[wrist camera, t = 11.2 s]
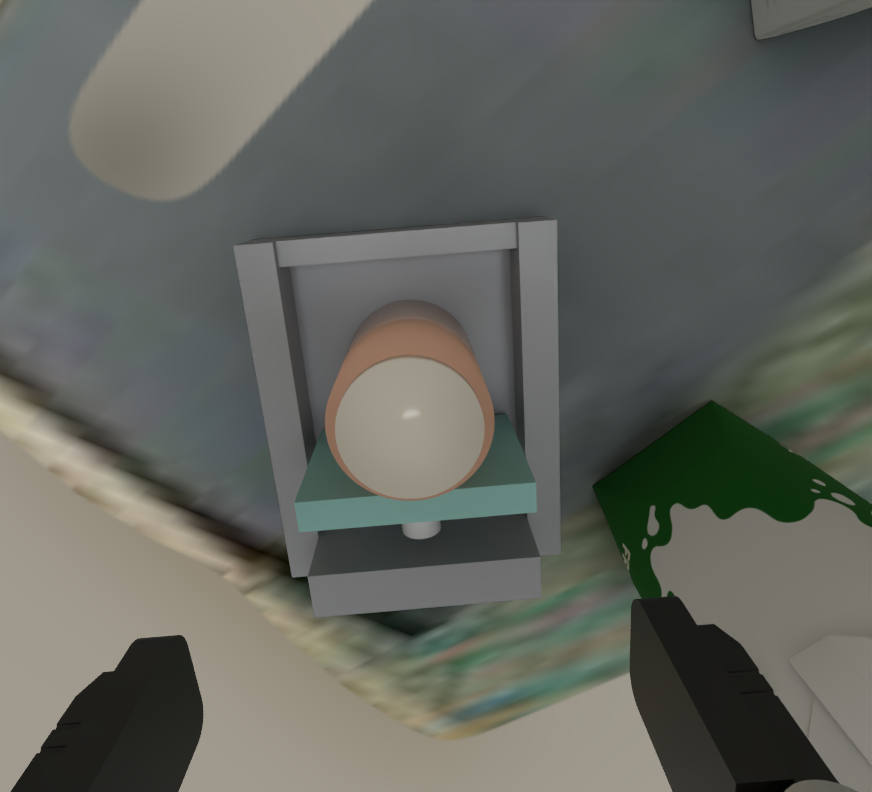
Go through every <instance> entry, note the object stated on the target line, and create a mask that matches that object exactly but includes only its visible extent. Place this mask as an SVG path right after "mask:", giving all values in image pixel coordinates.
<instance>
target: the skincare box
mask: <svg viewBox="0 0 872 792" xmlns="http://www.w3.org/2000/svg"><path fill="white" fill-rule="evenodd" d="M751 7H752V15H753V25H754V33H755V38H756V39H757V40H761V39H766V38H771V37H775V36H779V35H782V34H786V33H790V32H794V31H797V30H801V29H804V28H808V27H811V26H815V25H818V24H822V23H825V22H828V21H831V20H835V19H838V18H841V17H844V16H848V15H851V14H854V13H857V12H860V11H863V10H866V9H868V8H871V7H872V0H751Z"/></svg>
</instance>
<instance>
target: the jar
mask: <svg viewBox="0 0 872 792" xmlns="http://www.w3.org/2000/svg"><path fill="white" fill-rule="evenodd" d="M494 423H495V417H494V409H493V404H492V401H491V397H490V394H489V392H488V389H487V386H486V384H485V381H484V378H483V376H482V373H481V370H480V368H479V365H478V362H477V360H476V357H475V354H474V352H473V349H472V347H471V344H470V341H469V339H468V336H467V334H466V332H465V330H464V329H463V327H462V326H461V324H460V323H459V322H458V321H457V319H456V318H454V317H453V316H452V315H451V314H450V313H449V312H447V311H446V310H445V309H443V308H441V307H439V306H437V305H435V304H432V303H430V302H426V301H421V300H400V301H395V302H392V303H389V304H386V305H384V306H382V307H380V308H378V309H377V310H375V311H374V312H372V313H371V314H370V315H369V316H368V317H367V318H366V319H365V320H364V321H363V322H362V323H361V325H360V326H359V327H358V329H357V331H356V333H355V334H354V337H353V339H352V342H351V344H350V346H349V349H348V351H347V354H346V356H345V359H344V361H343V364H342V366H341V369H340V371H339V374H338V376H337V379H336V381H335V383H334V386H333V388H332V391H331V394H330V396H329V399H328V402H327V407H326V412H325V431H326V437H327V441H328V444H329V447H330V450H331V453H332V454H333V456H334V458H335V460H336V462H337V463H338V465H339V466H340V467H341V469H342V470H343V471H344V472H345V473H346V474H347V475H348V476H349V478H351V479H352V480H353V481H354V482H355V483H357V484H358V485H360V486H361V487H363V488H364V489H366V490H368V491H370V492H372V493H374V494H376V495H379V496H382V497H385V498H389V499H394V500H403V501H418V500H425V499H430V498H434V497H438V496H440V495H443V494H445V493H448V492H450V491H452V490H453V489H455V488H457V487H458V486H460V485H461V484H463V483H464V482H465V481H467V480H468V479H469V478H470V477H471V476H472V475H473V474H474V473H475V472H476V470H477V469H478V468H479V467H480V465H481V464H482V462H483V461H484V459H485V458H486V455H487V453H488V451H489V449H490V446H491V443H492V439H493V434H494Z"/></svg>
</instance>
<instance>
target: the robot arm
mask: <svg viewBox="0 0 872 792" xmlns="http://www.w3.org/2000/svg"><path fill="white" fill-rule="evenodd" d="M630 677H631V684H632V690H633V694H634V698H635V701H636V705H637V707H638V710H639V712H640V715H641V717H642V719H643V722H644V724H645V727H646V728H647V731H648V734H649V736H650V739H651V741H652V743H653V746H654V748H655V750H656V753H657V755H658V757H659V760H660V762H661V765H662V767H663V770H664V772H665V774H666V777H667V779H668V782H669V784H670V786H671V789H672V791H673V792H858V791H856V790H854V789H852V788H849V787H847V786H844V785H841V784H840V783H839V782H838V781H837V779H836V778H835V777H834V775H833V774H832V772H831V771H830V770H829V768H828V767H827V765H826V764H825V763H824V761H823V760H822V758H821V757H820V755H819V754H818V753H817V751H816V750H815V748H814V747H813V745H812V744H811V743H810V741H809V740H808V738H807V737H806V736H805V734H804V733H803V731H802V730H801V728H800V727H799V726H798V724H797V723H796V721H795V720H794V718H793V717H792V716H791V714H790V713H789V711H788V710H787V709H786V707H785V706H784V704H783V703H782V701H781V700H780V699H779V697H778V696H775V695H774V691H773V689H772V687H771V686H770V684H769V683H768V682H767V680H766V679H765V677H764V676H763V674H760V673H759V669H758V667H757V666H756V665H755V663H754V662H753V660H752V659H751V657H750V656H749V655H748V653H747V652H746V650H745V649H744V647H743V646H742V645H741V644H740V643H739V642H738V641H736V640H735V639H734V638H732V637H731V636H730V635H728V634H727V633H726V632H724V631H723V630H722V629H720V628H719V627H718V626H716V625H715V624H706V625H697V624H696V622H695V621H694V619H693V618H692V616H691V614H690V613H689V611H688V610H687V608H686V607H685V605H684V603H683V602H682V601H681V599H680V598H679V597H677V596H668V597H656V598H644V599H635V600H633V602H632V607H631V639H630ZM202 724H203V704H202V698H201V695H200V691H199V687H198V683H197V679H196V676H195V671H194V667H193V663H192V660H191V656H190V652H189V648H188V644H187V642H186V640H185V638H184V637H183V636H181V635H175V636H164V637H151V638H140V639H137V640H135V641H134V642H133V643H132V644H131V646H130V647H129V649H128V650H127V652H126V654H125V655H124V657H123V658H122V660H121V661H120V663H119V664H118V666H117V667H116V669H115V671H112V672H103V673H102V674H101V675H100V676H99V677H98V678H96V679H95V680H94V681H93V682H92V683H91V684H89V685H88V686H87V687H86V688H85V689H84V690H83V691H82V692H81V693H79V694H78V695H77V696H76V697H75V699H74V700H73V701H72V703H71V704H70V706H69V707H68V709H67V710H66V712H65V713H64V714H63V716H62V717H61V719H60V720H59V722H58V723H57V728H56V730H52V732H51V734H50V735H49V736H48V738H47V739H46V741H45V742H44V744H43V745H42V747H41V752H40V753H37V754H36V755H35V757H34V758H33V760H32V761H31V763H30V764H29V766H28V767H27V768H26V770H25V771H24V773H23V774H22V776H21V777H20V779H19V780H18V782H17V783H16V785H15V786H14V787H13V789H12V791H11V792H178V791H179V788H180V786H181V784H182V781H183V779H184V776H185V774H186V771H187V769H188V766H189V764H190V761H191V759H192V757H193V754H194V752H195V749H196V747H197V744H198V742H199V739H200V735H201V730H202Z"/></svg>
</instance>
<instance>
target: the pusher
mask: <svg viewBox="0 0 872 792" xmlns="http://www.w3.org/2000/svg"><path fill="white" fill-rule="evenodd" d="M494 417H495V423H494V434H493V439H492V443H491V446H490V449H489V451H488V453H487V455H486V458H485V459H484V461H483V462H482V464H481V465H480V467H479V468H478V469H477V470H476V472H475V473H474V474H473V475H472V476H471V477H470V478H469V479H468V480H467V481H465V482H464V483H463V484H461V485H460V486H458V487H457V488H455V489H453V490H452V491H450V492H448V493H445V494H443V495H440V496H438V497H434V498H430V499H425V500H418V501H403V500H394V499H389V498H385V497H382V496H379V495H376V494H374V493H372V492H370V491H368V490H366V489H364V488H363V487H361V486H360V485H358V484H357V483H355V482H354V481H353V480H352V479H351V478H349V476H348V475H347V474H346V473H345V472H344V471H343V470H342V469H341V467H340V466H339V465H338V463H337V462H336V460H335V458H334V456H333V454H332V453H331V450H330V447H329V444H328V441H327V437H326V431H325V429H322V431H321V433H320V436H319V439H318V441H317V444H316V446H315V449H314V452H313V454H312V457H311V460H310V462H309V465H308V467H307V470H306V473H305V475H304V478H303V481H302V483H301V486H300V489H299V491H298V494H297V496H296V499H295V502H294V506H295V512H296V517H297V523H298V529H299V532H311V531H322V530H334V529H346V528H358V527H369V526H381V525H393V524H402V531H403V534H404V535H405V536H407V537H409V538H412V539H426V538H430V537H432V536H434V535H436V534H437V533H438V532H439V531H440V529H441V523H440V520H452V519H464V518H475V517H487V516H499V515H511V514H522V513H534V512H537V500H536V481H535V479H534V476H533V474H532V472H531V469H530V467H529V464H528V462H527V460H526V457H525V455H524V453H523V450H522V448H521V446H520V443H519V441H518V438H517V436H516V434H515V431H514V429H513V427H512V424H511V422H510V419H509V417H508V415H507V414H501V415H494Z"/></svg>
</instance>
